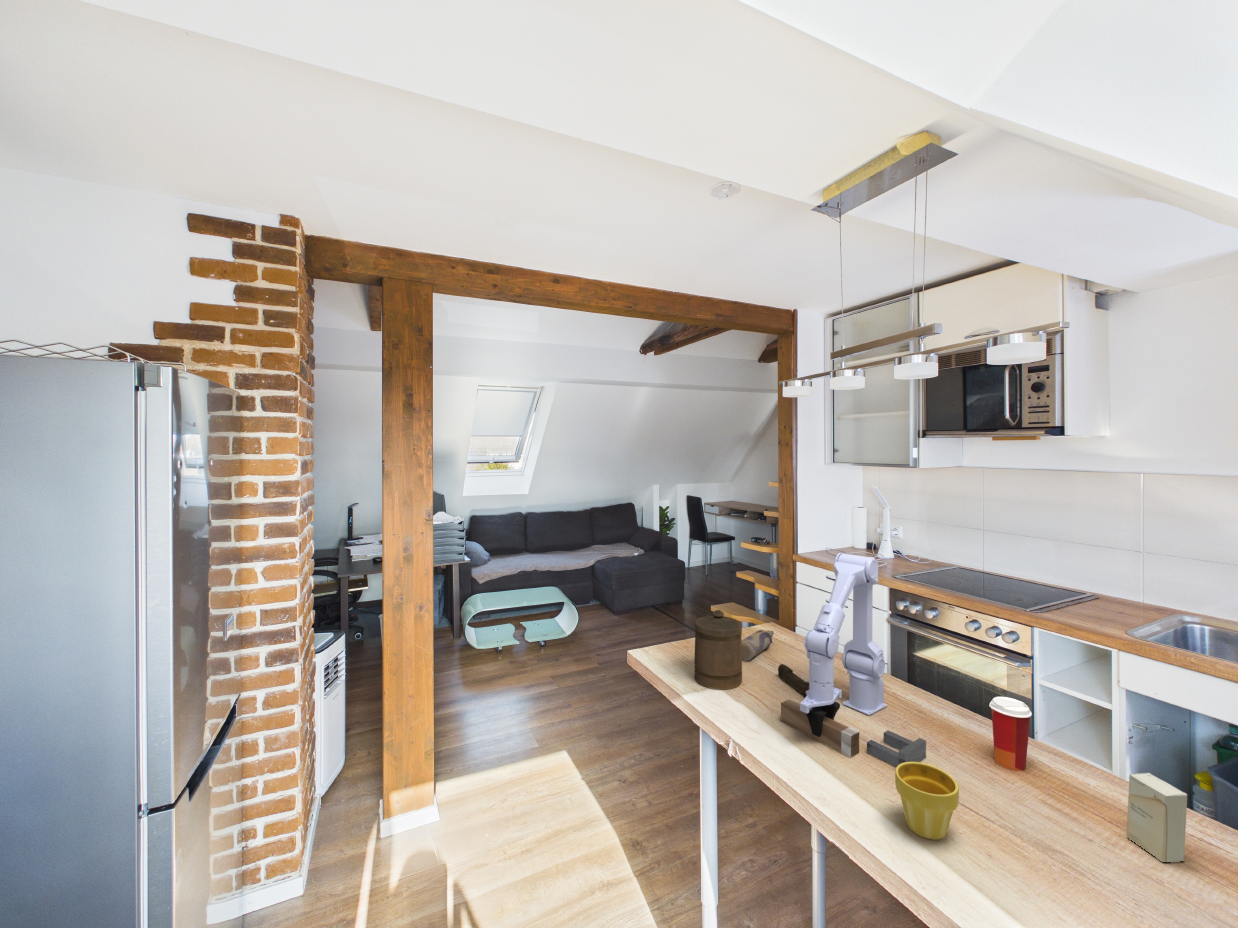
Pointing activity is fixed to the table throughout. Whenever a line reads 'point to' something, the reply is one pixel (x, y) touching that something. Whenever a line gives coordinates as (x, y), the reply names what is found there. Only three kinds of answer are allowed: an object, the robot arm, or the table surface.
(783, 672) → the hand tool
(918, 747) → the u-shaped metal bracket
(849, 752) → the walnut rail
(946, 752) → the table surface
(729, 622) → the wooden container
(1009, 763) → the paper cup
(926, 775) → the plant pot
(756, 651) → the decorative bottle
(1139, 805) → the skincare box
